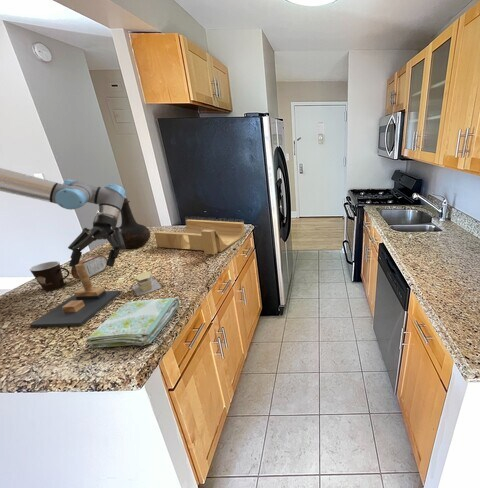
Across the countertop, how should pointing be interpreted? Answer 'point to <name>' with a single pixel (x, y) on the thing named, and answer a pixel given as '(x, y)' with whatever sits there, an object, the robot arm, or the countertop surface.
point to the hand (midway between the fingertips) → (91, 266)
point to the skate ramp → (202, 236)
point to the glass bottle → (131, 228)
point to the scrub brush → (87, 286)
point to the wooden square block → (73, 306)
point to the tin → (91, 265)
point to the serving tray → (74, 318)
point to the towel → (134, 323)
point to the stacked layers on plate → (145, 283)
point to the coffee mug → (49, 275)
